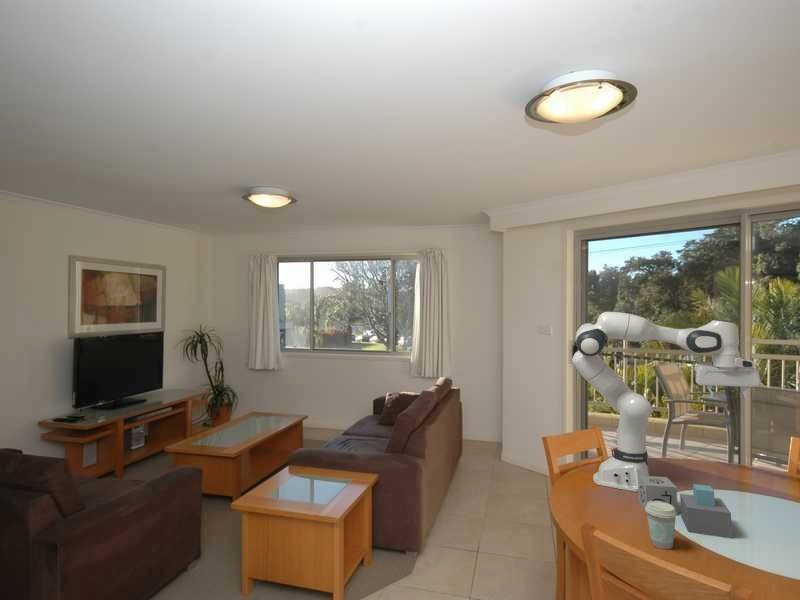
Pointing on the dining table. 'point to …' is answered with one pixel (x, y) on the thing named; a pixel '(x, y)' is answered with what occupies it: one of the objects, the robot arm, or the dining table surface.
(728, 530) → the grey block
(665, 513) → the coffee cup
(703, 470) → the dining table surface
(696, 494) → the teal block
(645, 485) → the icon cube
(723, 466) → the dining table surface
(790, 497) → the dining table surface
